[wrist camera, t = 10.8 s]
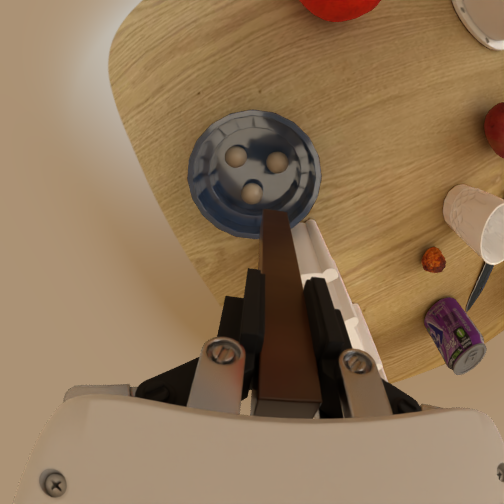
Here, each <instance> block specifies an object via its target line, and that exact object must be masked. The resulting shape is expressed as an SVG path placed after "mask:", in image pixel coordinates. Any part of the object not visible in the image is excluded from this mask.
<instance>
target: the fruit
mask: <svg viewBox="0 0 504 504" xmlns="http://www.w3.org/2000/svg"><path fill="white" fill-rule="evenodd" d="M484 129H485V135H486V138H487V140H488V142H489V144H490V146H491V147H492V149H493V150H494V151H495V153H496V154H497V155H499V156H500V157H502V158H504V102H501V103H498V104H497V105H495V106H494V107H493V108H492V109H491V110H490V111H489V112H488V114H487V115H486V118H485V123H484Z"/></svg>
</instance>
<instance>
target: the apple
mask: <svg viewBox="0 0 504 504" xmlns="http://www.w3.org/2000/svg"><path fill="white" fill-rule="evenodd" d="M299 1H300V2H301V3H302V4H303V5H304V6H305V7H306V8H307V9H308V10H309V11H310V12H311V13H312V14H314V15H316V16H317V17H319V18H321V19H323V20H326V21H330V22H343V21H347V20H351V19H355V18H358V17H360V16H362V15H364V14H366V13H368V12H370V11H372V10H373V9H374V8H375V7H376V6H377V5H378V4H379V2H380V1H381V0H299Z"/></svg>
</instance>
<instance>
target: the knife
mask: <svg viewBox="0 0 504 504" xmlns="http://www.w3.org/2000/svg"><path fill="white" fill-rule="evenodd" d="M493 266H494V265H490V264H487V263H485V265H484V268H483V270H482V272H481V275H480V277H479V279H478V281H477V283H476V286H475V288H474V290H473V292H472V294H471V296H470V299H469V302H468V305H467V308H466V312H467V311H468V310H469V309H470V308H471V306H472V305H473V304H474V302H475V301H476V299H477V298H478V296H479V295H480V293H481V292H482V290H483V288H484V286H485V284H486V282H487V280H488V278H489V276H490V273H491V271H492V269H493ZM480 288H481V289H480Z"/></svg>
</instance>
